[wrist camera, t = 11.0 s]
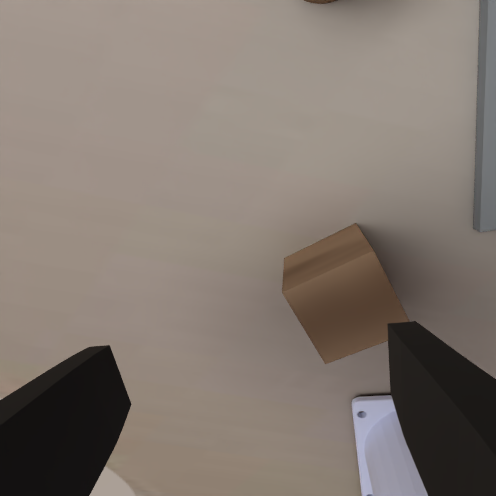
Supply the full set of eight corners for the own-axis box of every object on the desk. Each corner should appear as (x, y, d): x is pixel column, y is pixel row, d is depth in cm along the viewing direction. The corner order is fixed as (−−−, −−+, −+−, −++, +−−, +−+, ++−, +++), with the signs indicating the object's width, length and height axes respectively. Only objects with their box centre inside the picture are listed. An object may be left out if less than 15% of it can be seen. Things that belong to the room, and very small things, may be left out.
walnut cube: (388, 287, 17) (414, 330, 14) (318, 316, 18) (325, 364, 15) (355, 222, 16) (373, 250, 13) (284, 257, 18) (282, 292, 14)
